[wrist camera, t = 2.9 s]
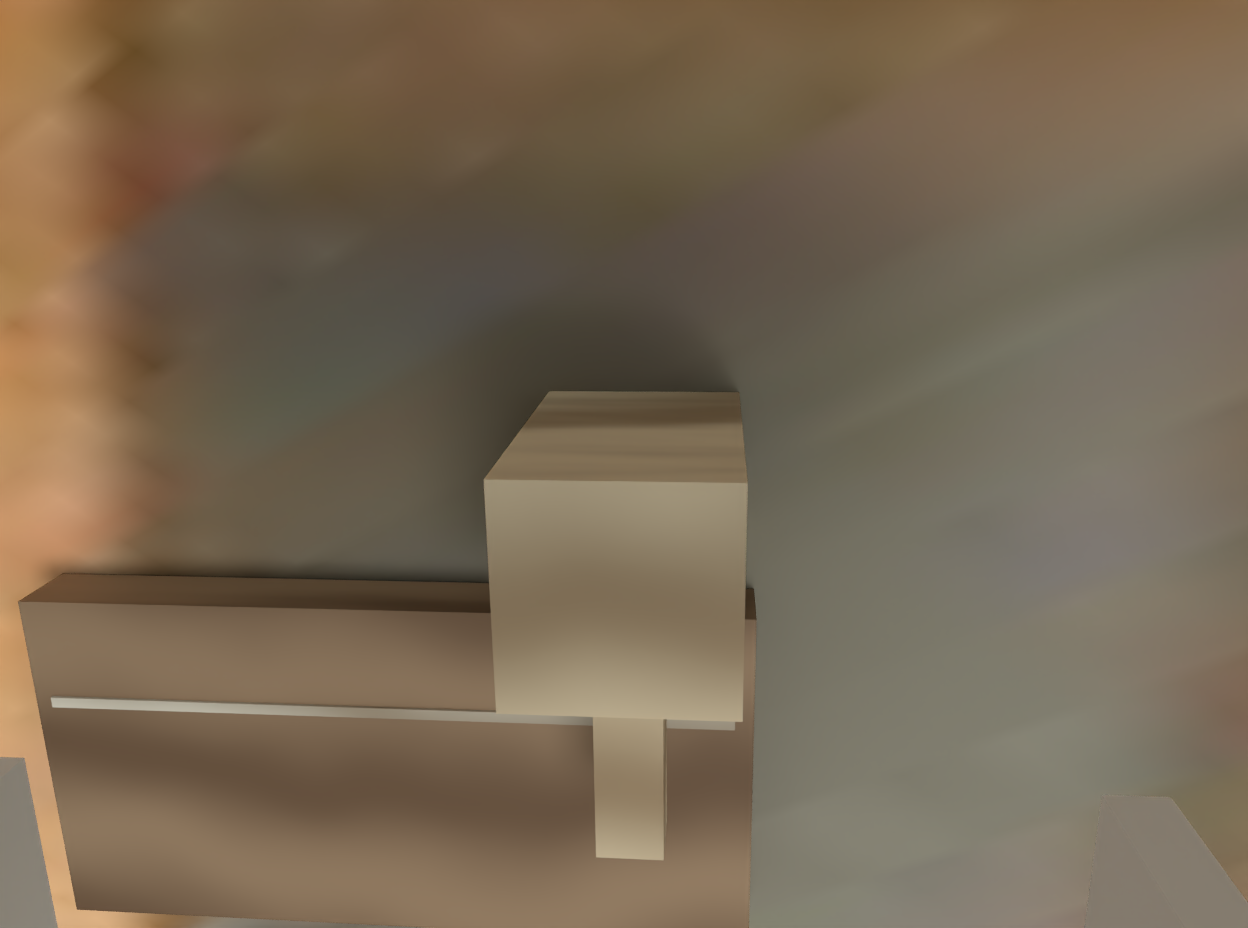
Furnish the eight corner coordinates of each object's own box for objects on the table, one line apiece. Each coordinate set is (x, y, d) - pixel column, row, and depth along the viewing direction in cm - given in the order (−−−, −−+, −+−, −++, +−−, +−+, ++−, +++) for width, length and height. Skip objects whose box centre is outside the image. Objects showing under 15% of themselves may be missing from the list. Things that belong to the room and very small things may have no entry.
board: (62, 573, 30) (15, 603, 28) (754, 589, 28) (756, 621, 26) (114, 865, 33) (75, 911, 31) (746, 896, 31) (748, 946, 29)
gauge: (549, 391, 27) (483, 479, 20) (739, 392, 27) (747, 483, 19) (560, 726, 30) (507, 918, 22) (732, 732, 30) (738, 930, 22)
